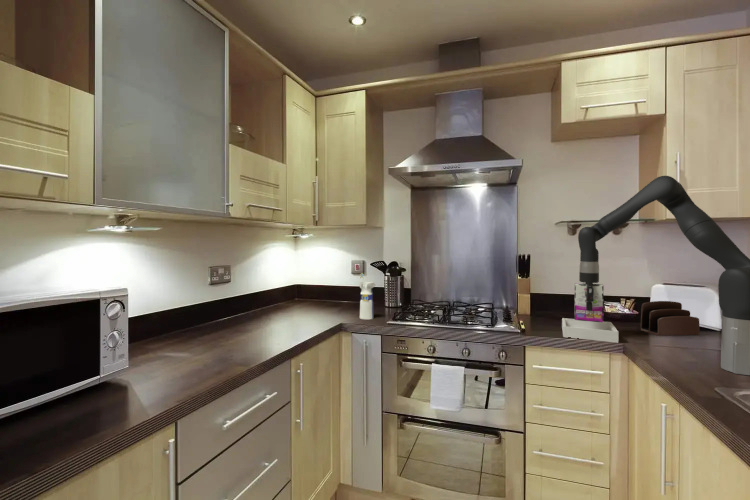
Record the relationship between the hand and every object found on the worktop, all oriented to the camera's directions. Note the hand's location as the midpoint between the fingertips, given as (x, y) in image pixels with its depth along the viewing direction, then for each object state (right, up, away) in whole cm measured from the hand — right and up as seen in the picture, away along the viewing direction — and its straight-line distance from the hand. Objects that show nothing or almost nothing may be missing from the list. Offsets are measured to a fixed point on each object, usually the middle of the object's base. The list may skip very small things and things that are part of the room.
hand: (588, 309), depth 161 cm
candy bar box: (0, -5, 0) cm, 5 cm away
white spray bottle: (-100, -10, +33) cm, 106 cm away
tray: (0, -11, 0) cm, 11 cm away
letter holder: (+39, -12, +4) cm, 41 cm away
